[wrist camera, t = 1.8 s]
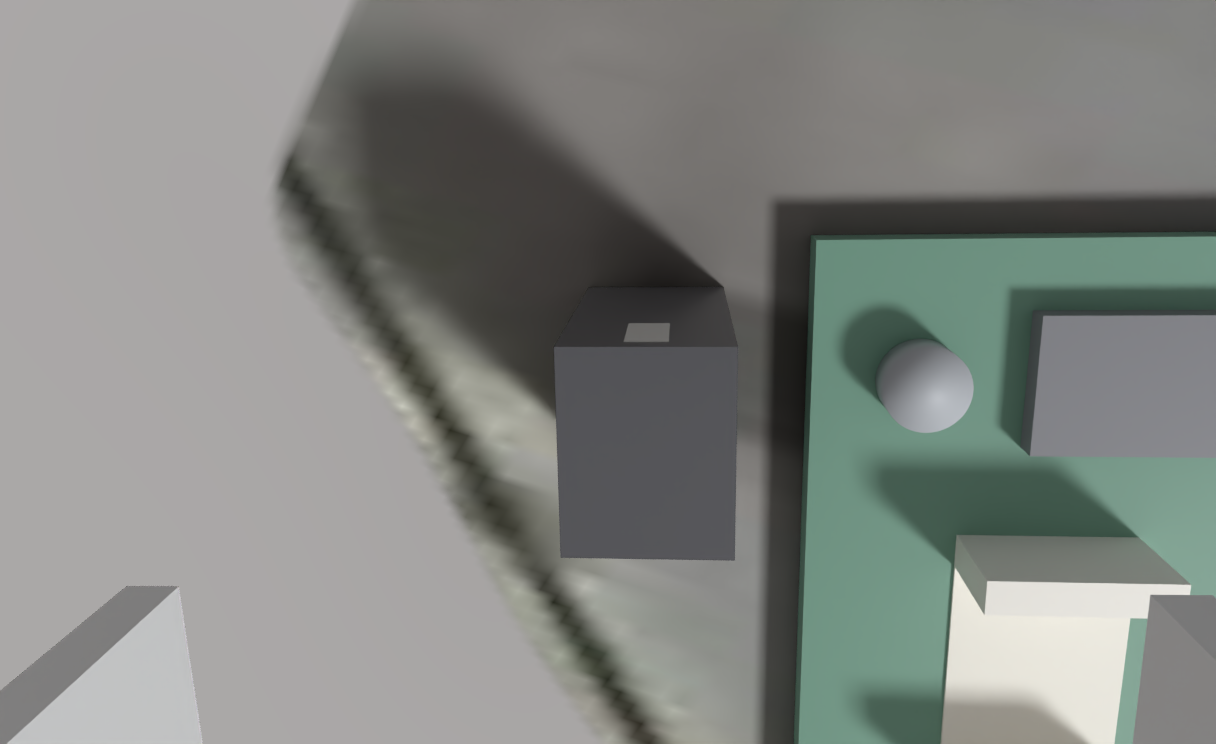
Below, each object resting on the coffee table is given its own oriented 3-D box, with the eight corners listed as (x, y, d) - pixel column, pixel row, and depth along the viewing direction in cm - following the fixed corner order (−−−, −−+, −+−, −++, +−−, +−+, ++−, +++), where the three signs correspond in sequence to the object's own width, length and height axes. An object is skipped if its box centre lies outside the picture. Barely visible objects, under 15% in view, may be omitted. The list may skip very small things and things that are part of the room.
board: (810, 235, 28) (832, 253, 24) (1320, 230, 27) (1434, 249, 23) (790, 824, 33) (805, 923, 29) (1220, 840, 32) (1299, 945, 28)
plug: (588, 287, 29) (554, 345, 21) (723, 286, 28) (738, 346, 21) (592, 447, 30) (560, 558, 22) (721, 448, 30) (734, 561, 22)
